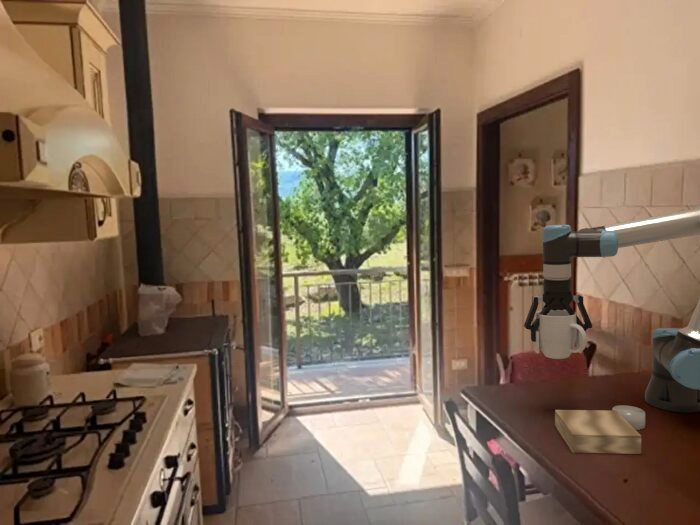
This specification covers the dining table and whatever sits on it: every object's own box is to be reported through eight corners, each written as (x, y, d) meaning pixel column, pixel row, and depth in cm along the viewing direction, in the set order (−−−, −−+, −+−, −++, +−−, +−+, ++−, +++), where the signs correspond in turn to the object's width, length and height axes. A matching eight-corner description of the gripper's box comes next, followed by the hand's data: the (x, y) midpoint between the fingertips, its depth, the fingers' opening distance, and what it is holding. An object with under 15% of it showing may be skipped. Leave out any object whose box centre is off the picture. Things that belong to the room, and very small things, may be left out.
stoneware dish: (637, 419, 146) (637, 405, 146) (650, 430, 138) (650, 416, 138) (607, 418, 147) (608, 405, 147) (618, 430, 139) (618, 416, 139)
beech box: (615, 428, 141) (616, 410, 141) (641, 455, 125) (641, 435, 125) (555, 427, 143) (555, 409, 143) (572, 454, 127) (572, 434, 127)
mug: (597, 358, 147) (596, 313, 146) (574, 366, 141) (573, 319, 140) (552, 349, 159) (551, 307, 158) (529, 356, 153) (527, 313, 152)
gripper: (595, 275, 151) (595, 348, 153) (512, 277, 154) (514, 349, 156) (604, 278, 144) (605, 355, 146) (517, 281, 147) (518, 356, 149)
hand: (557, 352), depth 151 cm, fingers closed on mug, 11 cm apart
